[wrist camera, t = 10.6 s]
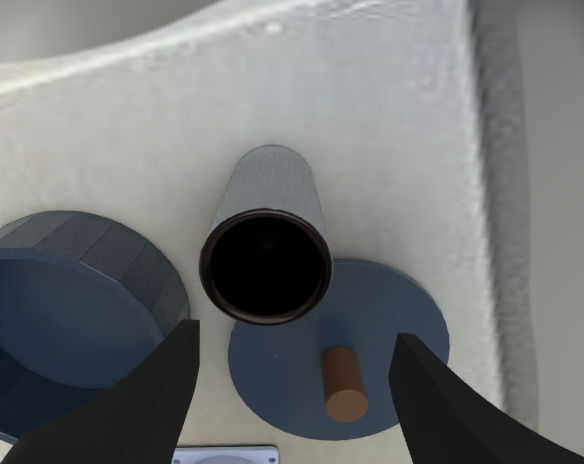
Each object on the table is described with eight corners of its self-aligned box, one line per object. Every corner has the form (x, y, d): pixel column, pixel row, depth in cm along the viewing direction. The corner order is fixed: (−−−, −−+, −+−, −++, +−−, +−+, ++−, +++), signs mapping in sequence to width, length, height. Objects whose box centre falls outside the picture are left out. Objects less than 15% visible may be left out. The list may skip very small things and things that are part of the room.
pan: (199, 388, 29) (183, 451, 25) (6, 391, 29) (-46, 455, 25) (178, 209, 24) (153, 246, 20) (-57, 211, 24) (-137, 249, 19)
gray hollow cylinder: (217, 198, 24) (174, 293, 14) (257, 128, 23) (238, 182, 13) (287, 236, 25) (289, 348, 15) (329, 170, 23) (360, 250, 14)
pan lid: (429, 426, 31) (454, 490, 27) (235, 429, 31) (227, 494, 27) (459, 253, 26) (496, 296, 21) (223, 255, 25) (210, 299, 21)
